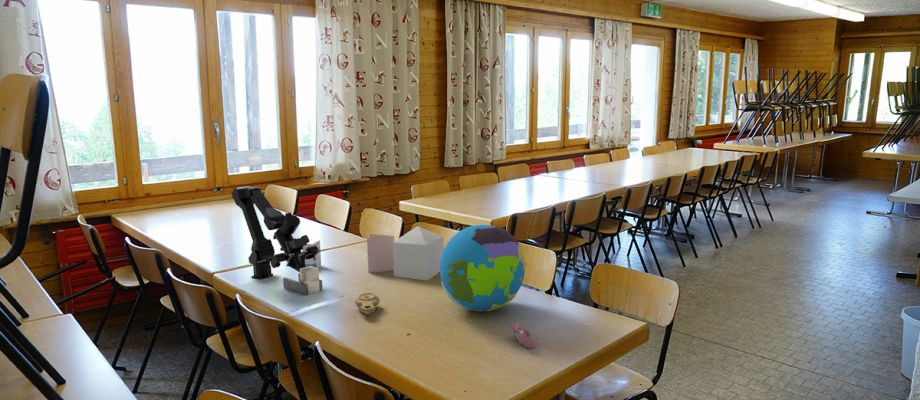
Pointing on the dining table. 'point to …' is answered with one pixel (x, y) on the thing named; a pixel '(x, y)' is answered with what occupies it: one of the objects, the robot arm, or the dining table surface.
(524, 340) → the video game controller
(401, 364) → the dining table surface
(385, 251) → the greeting card
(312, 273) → the block
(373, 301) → the oil lamp
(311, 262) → the ink box
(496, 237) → the globe
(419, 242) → the decorative block
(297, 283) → the chute
